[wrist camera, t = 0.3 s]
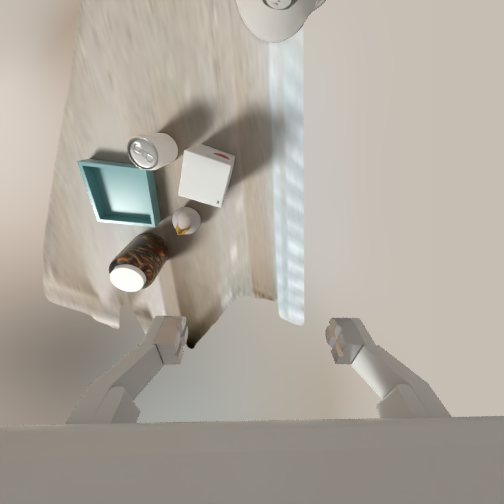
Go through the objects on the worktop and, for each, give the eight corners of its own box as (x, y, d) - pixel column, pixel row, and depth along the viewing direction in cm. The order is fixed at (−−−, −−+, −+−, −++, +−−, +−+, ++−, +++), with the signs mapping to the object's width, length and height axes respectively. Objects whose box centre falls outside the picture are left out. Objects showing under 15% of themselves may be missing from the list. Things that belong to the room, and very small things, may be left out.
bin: (89, 158, 47) (77, 161, 44) (152, 166, 49) (145, 169, 45) (107, 215, 55) (97, 221, 52) (160, 220, 57) (155, 227, 53)
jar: (129, 230, 58) (97, 258, 45) (169, 236, 60) (149, 265, 47) (133, 261, 64) (106, 293, 52) (169, 266, 66) (152, 299, 53)
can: (160, 125, 44) (135, 125, 34) (183, 148, 47) (167, 154, 37) (145, 148, 46) (118, 153, 36) (169, 168, 49) (149, 179, 39)
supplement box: (236, 155, 48) (233, 165, 35) (227, 190, 52) (222, 209, 40) (200, 142, 46) (183, 147, 34) (194, 179, 51) (177, 196, 38)
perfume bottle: (177, 226, 58) (163, 246, 48) (174, 193, 53) (158, 209, 42) (202, 228, 59) (194, 249, 48) (202, 197, 53) (192, 213, 43)
